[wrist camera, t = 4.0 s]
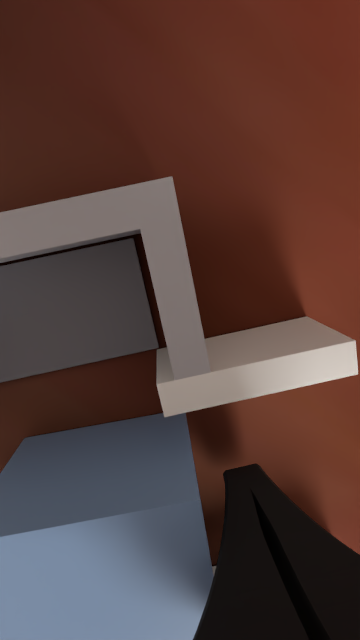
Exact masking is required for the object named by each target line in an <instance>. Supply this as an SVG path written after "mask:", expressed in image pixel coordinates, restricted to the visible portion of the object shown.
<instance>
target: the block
mask: <svg viewBox="0 0 360 640" xmlns="http://www.w3.org/2000/svg"><path fill="white" fill-rule="evenodd" d="M213 577H214V576H213V570H212V564H211V558H210V552H209V546H208V540H207V534H206V528H205V523H204V517H203V511H202V505H201V499H200V494H199V488H198V482H197V476H196V470H195V465H194V459H193V453H192V447H191V441H190V436H189V430H188V424H187V418H186V413H182V414H177V415H173V416H168V417H164V414H163V413H161V414H155V415H149V416H144V417H138V418H133V419H127V420H122V421H116V422H110V423H105V424H99V425H94V426H88V427H83V428H77V429H71V430H66V431H60V432H55V433H49V434H44V435H38V436H32V437H27V438H24V439H23V441H22V442H21V444H20V445H19V447H18V448H17V450H16V451H15V453H14V454H13V456H12V457H11V459H10V460H9V461H8V463H7V464H6V466H5V467H4V469H3V470H2V472H1V473H0V640H193V638H194V635H195V633H196V630H197V628H198V625H199V622H200V619H201V616H202V613H203V610H204V607H205V605H206V602H207V599H208V595H209V592H210V589H211V585H212V581H213Z"/></svg>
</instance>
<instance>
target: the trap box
mask: <svg viewBox="0 0 360 640" xmlns="http://www.w3.org/2000/svg"><path fill="white" fill-rule="evenodd" d="M140 233H141V235H142V239H143V244H144V248H145V252H146V257H147V261H148V265H149V270H150V274H151V279H152V283H153V287H154V292H155V296H156V301H157V305H158V309H159V314H160V318H161V323H162V327H163V331H164V336H165V340H166V344H167V347H165V348H161V349H157V374H156V385H157V389H158V393H159V397H160V401H161V405H162V409H163V414H164V417H168V416H173V415H177V414H182V413H186V412H191V411H195V410H200V409H204V408H209V407H213V406H218V405H222V404H227V403H231V402H236V401H240V400H245V399H249V398H254V397H258V396H263V395H267V394H272V393H276V392H281V391H285V390H290V389H294V388H299V387H303V386H308V385H312V384H317V383H321V382H326V381H330V380H335V379H339V378H344V377H348V376H353V375H357V374H358V365H357V353H356V341H355V340H353V339H351V338H349V337H347V336H345V335H343V334H341V333H339V332H337V331H335V330H333V329H331V328H329V327H327V326H325V325H323V324H321V323H319V322H317V321H315V320H313V319H311V318H309V317H302V318H298V319H293V320H288V321H284V322H279V323H275V324H270V325H266V326H261V327H256V328H252V329H247V330H243V331H238V332H234V333H229V334H224V335H220V336H215V337H211V338H206V339H204V334H203V329H202V324H201V319H200V314H199V309H198V304H197V299H196V294H195V289H194V284H193V278H192V273H191V268H190V263H189V258H188V253H187V248H186V243H185V238H184V233H183V228H182V223H181V218H180V213H179V208H178V203H177V198H176V193H175V188H174V183H173V178H172V176H171V177H166V178H162V179H157V180H152V181H147V182H143V183H138V184H133V185H128V186H124V187H119V188H114V189H109V190H105V191H100V192H95V193H90V194H86V195H81V196H76V197H71V198H67V199H62V200H57V201H52V202H48V203H43V204H38V205H33V206H29V207H24V208H19V209H14V210H10V211H5V212H0V263H3V262H8V261H13V260H18V259H22V258H27V257H32V256H36V255H41V254H46V253H50V252H55V251H60V250H64V249H69V248H74V247H79V246H83V245H88V244H93V243H97V242H102V241H107V240H111V239H116V238H121V237H126V236H130V235H135V234H140ZM156 348H159V345H158V340H157V336H156V332H155V328H154V323H153V319H152V315H151V311H150V306H149V302H148V298H147V293H146V289H145V285H144V281H143V276H142V272H141V268H140V264H139V259H138V255H137V251H136V246H135V242H134V238H131V239H126V240H121V241H116V242H112V243H107V244H102V245H98V246H93V247H88V248H84V249H79V250H74V251H70V252H65V253H60V254H55V255H51V256H46V257H41V258H37V259H32V260H27V261H23V262H18V263H13V264H9V265H4V266H0V383H1V382H5V381H10V380H14V379H19V378H23V377H28V376H33V375H37V374H42V373H46V372H51V371H55V370H60V369H65V368H69V367H74V366H78V365H83V364H87V363H92V362H97V361H101V360H106V359H110V358H115V357H119V356H124V355H128V354H133V353H138V352H142V351H147V350H151V349H156ZM212 570H213V576H214V573H215V570H216V566H212Z"/></svg>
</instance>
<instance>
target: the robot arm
mask: <svg viewBox="0 0 360 640" xmlns="http://www.w3.org/2000/svg"><path fill="white" fill-rule="evenodd" d="M223 476H224V481H225V516H224V525H223V532H222V540H221V546H220V551H219V556H218V561H217V565H216V570H215V573H214V577H213V581H212V585H211V589H210V592H209V595H208V599H207V602H206V605H205V607H204V610H203V613H202V616H201V619H200V622H199V625H198V628H197V630H196V633H195V635H194V638H193V640H360V555H359V554H358V553H356V552H355V551H353V550H352V549H350V548H349V547H347V546H346V545H345V544H343V543H342V542H340V541H339V540H338V539H336V538H335V537H334V536H332V535H331V534H330V533H328V532H327V531H326V530H324V529H323V528H322V527H321V526H320V525H318V524H317V523H316V522H315V521H314V520H312V519H311V518H310V517H309V516H308V515H307V514H305V513H304V512H303V511H302V510H301V509H300V508H299V507H298V506H297V505H295V504H294V503H293V502H292V501H291V500H290V499H289V498H288V497H287V496H286V495H285V494H284V493H283V492H282V491H281V490H280V489H279V488H278V487H277V486H276V485H275V483H274V482H273V481H272V480H271V479H270V478H269V477H268V476H267V475H266V473H265V472H264V471H263V470H262V468H261V467H260V466H259V465H257V464H252V465H247V466H243V467H238V468H234V469H229V470H225V472H224V473H223Z"/></svg>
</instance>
